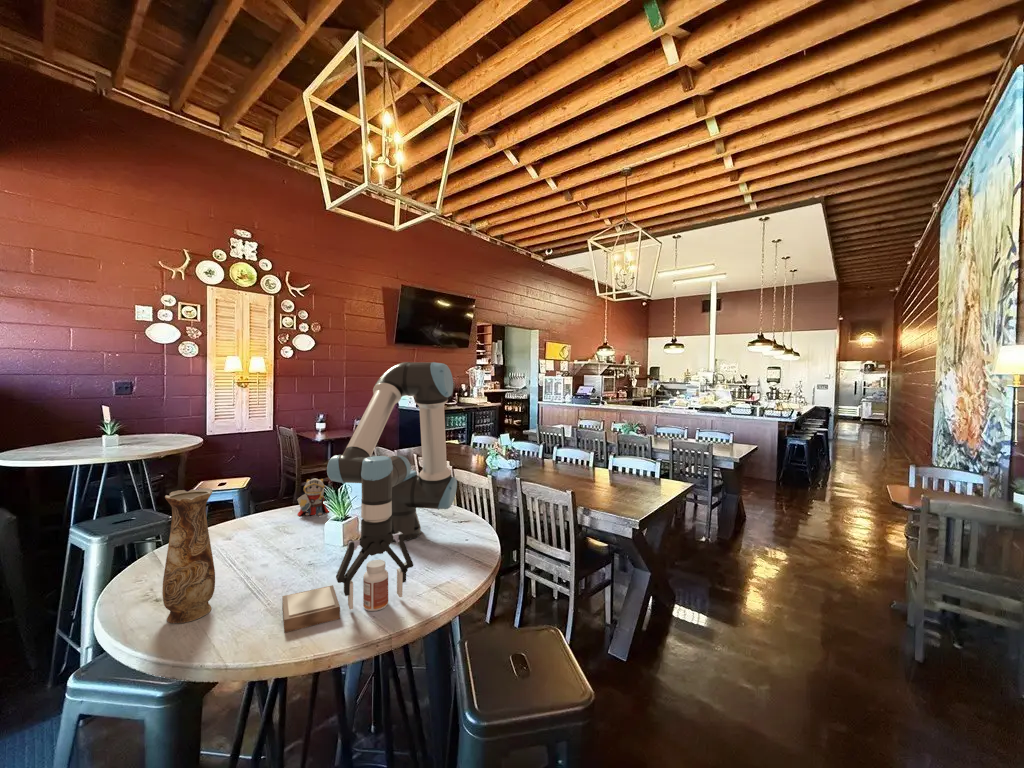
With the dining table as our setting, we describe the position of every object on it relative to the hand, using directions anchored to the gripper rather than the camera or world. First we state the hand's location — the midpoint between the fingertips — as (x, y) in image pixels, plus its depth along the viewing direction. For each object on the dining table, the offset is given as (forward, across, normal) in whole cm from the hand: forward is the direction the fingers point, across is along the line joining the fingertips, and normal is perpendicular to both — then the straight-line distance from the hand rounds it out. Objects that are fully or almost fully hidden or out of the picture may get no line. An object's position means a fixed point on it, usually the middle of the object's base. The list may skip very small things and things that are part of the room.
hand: (375, 600), depth 112 cm
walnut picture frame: (+1, +15, -4) cm, 16 cm away
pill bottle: (+1, 0, 0) cm, 1 cm away
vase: (+1, +41, -18) cm, 45 cm away
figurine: (+2, +7, -85) cm, 85 cm away
